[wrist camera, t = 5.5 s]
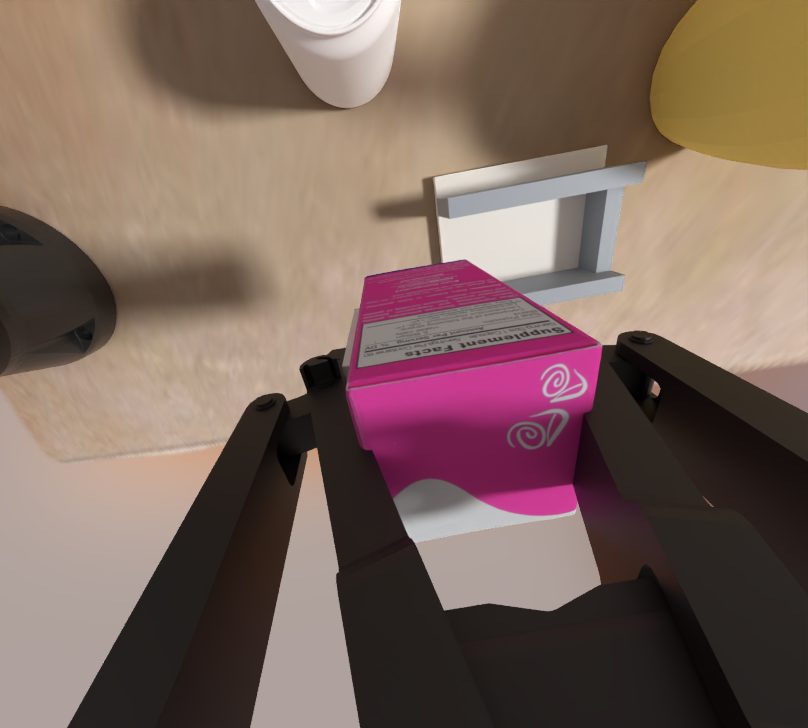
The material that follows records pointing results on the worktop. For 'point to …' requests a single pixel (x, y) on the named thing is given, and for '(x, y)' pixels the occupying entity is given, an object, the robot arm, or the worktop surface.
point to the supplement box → (468, 399)
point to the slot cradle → (538, 222)
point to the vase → (737, 82)
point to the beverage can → (337, 44)
